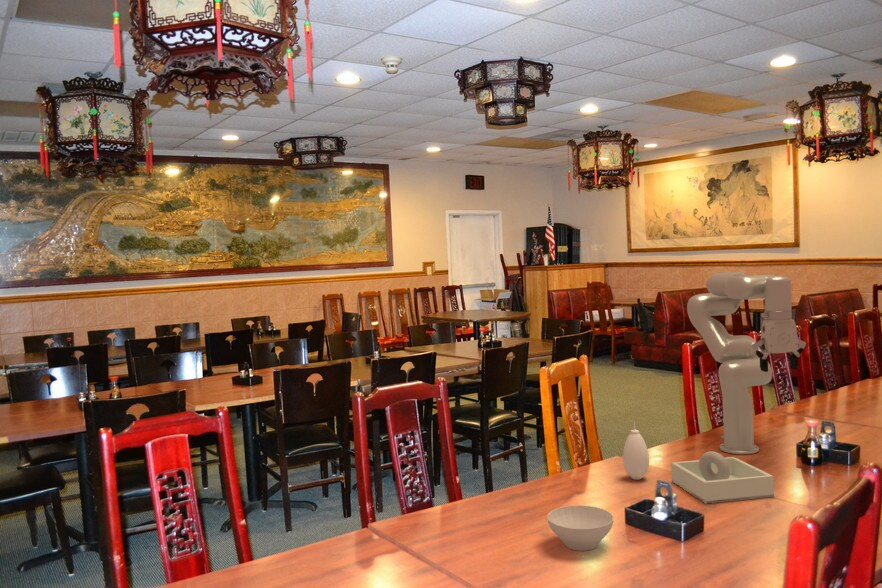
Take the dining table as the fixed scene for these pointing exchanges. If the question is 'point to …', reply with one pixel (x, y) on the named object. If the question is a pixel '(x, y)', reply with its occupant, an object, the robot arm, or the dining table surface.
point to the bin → (724, 482)
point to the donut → (718, 461)
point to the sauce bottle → (635, 455)
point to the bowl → (580, 525)
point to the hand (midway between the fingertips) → (779, 370)
